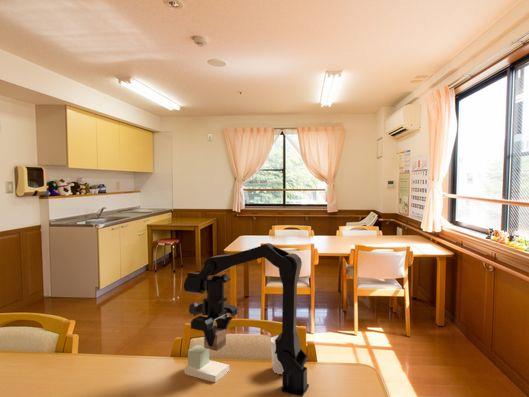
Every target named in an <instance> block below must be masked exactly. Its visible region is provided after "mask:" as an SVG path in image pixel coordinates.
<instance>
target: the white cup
mask: <svg viewBox="0 0 529 397" xmlns="http://www.w3.org/2000/svg"><path fill="white" fill-rule="evenodd" d="M278 336H279V335H275V336H272V337H271V339H270V348H271V349H270V353H271V365H272V366H271V367H272V372H273V371H274V372H273V373H275V374H276V373H277V375H279V374H281V376H282V372H283V371H284V370H283V367H282V364H281V363H280V362H279V361H278V359H277V354H275V351H276V344H275V340H276V338H277V337H278Z"/></svg>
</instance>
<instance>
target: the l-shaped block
mask: <svg viewBox="0 0 529 397" xmlns="http://www.w3.org/2000/svg"><path fill="white" fill-rule="evenodd" d="M228 371H229V372H230V364H228V363H222V362H218V361H215V360H211V359H210V349H206V348H204V345H200V344H196V345H194V346H193V347H191V348H189V349H188V350H187V366H185V367H184V375H188V376H191V377H194V378H199V379H201V380H204V381H208V382H212V383H215V384H216V383H217V382H218V381H219V380H221V379H222V378H223V377H224V376H225V375H227V374H228V373H229V372H228ZM227 372H228V373H227ZM224 374H225V375H224Z"/></svg>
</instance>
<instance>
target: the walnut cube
mask: <svg viewBox="0 0 529 397" xmlns="http://www.w3.org/2000/svg"><path fill="white" fill-rule="evenodd" d="M203 336H204V337H203V338H204V339H203V346H204V348H206V349H209V350H210V351H211V350H212V351H216V352H218V351H219V350H221V349H222V348H224V347H225V346H226V345H227V329H226V330H225V329H220V328H217V330H216V334H215V338H214V342H213V345H212V347H210V346H209V345H208V342H207V340H206V337H205V334H204V333H203Z"/></svg>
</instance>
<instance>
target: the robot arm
mask: <svg viewBox="0 0 529 397" xmlns="http://www.w3.org/2000/svg"><path fill="white" fill-rule="evenodd" d="M262 258H264V259H266V260H267V261H268V262H269V263H270V264H271V265H273V266H274V267H276V268H277V269H278V273H279V274H278V275H279V278H280V281H281V284H282V310H281V311H282V314H281V315H282V316H281V317H282V318H281V319H282V320H281V322H282V323H281V332H280V333H279V334H278V335H277V336H278V337H277V338H276V340H275V344H276V351H275V354H277V359H278V361H279V362H280V363H281V364H282V367H283V370H284V371H283V372H282V375H281V376H282V377H281V378H282V379H281V380H282V381H281V382H282V384H281V385H282V388H281V391H282V392H283V393H286V394H291V395H293V396H298V397H304V395H305V393H306V391H307V390H308V388H309V387H310V384H309V383H308V367H307V366H305V365H306V363H307V361H308V358H309V357H308V355H307V354H306V353H305V351H303V349H302V348H301V343H300V336H299V334H298V331H297V307H298V306H297V302H298V300H297V298H298V294H297V293H298V282H299V278H300V274H301V270H302V269H301V268H302V265H303V262H302V259H301V258H302V257H300V256H299V255H298V254H296V253H290V252H288V251H286V250H284V249H282V248H279V247H278V246H275V245H274V244H271V243H269V242H268V243H267V242H266V243H264V244H261V245H260V246H256V247H253V248H249V249H247V250H243V251H239V252H236V253H232V254H231V253H230V254H229V253H228V254H220V255H215V256H211V257H208V258H206V259H205V261H204V264H203V267H202V269H201V270H200V272H196V271H189V272H187V275H186V278H185V281H184V283H183V289H184V292H185V293H187V294H188V293H189V294H198V295H199V294H200V295H202V294H204V293H205V292H206V297H205V298H203V299H202V300H203V301H202V302H199V303H198V302H193V303H190V304H189V305H188V312H189V314H190V315H193V318H192V319H191V321H190V329H192V330H195V331H202V332H203V335H204V334H205V337H206V340H207V342H208V345H209V346H210V347H212V345H213V342H214V338H215V334H216V330H217V328H220V329H225V330H226V331H227V330H228V327H229V325H230V323H231V321H232V320H233V317H234V316H236V315H238V307H237V305H233V304H225V302H227V301H228V297H227V296H225V283H226V284H227V283H228V282H230V281H231V278H230V277H229V276H228V275H227V274H226V273H223V272H225V271H227V270H229V269H231V268H233V267H234V266H238V265H241V264H245V263H248V262H252V261H255V260H259V259H262ZM220 273H223V274H222V275H218V274H220ZM211 276H212V277H211ZM201 314H202V315H201ZM229 314H230V315H231V316H230V315H229ZM197 315H200V316H197ZM194 317H195V318H194ZM215 323H216V325H215Z"/></svg>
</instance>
